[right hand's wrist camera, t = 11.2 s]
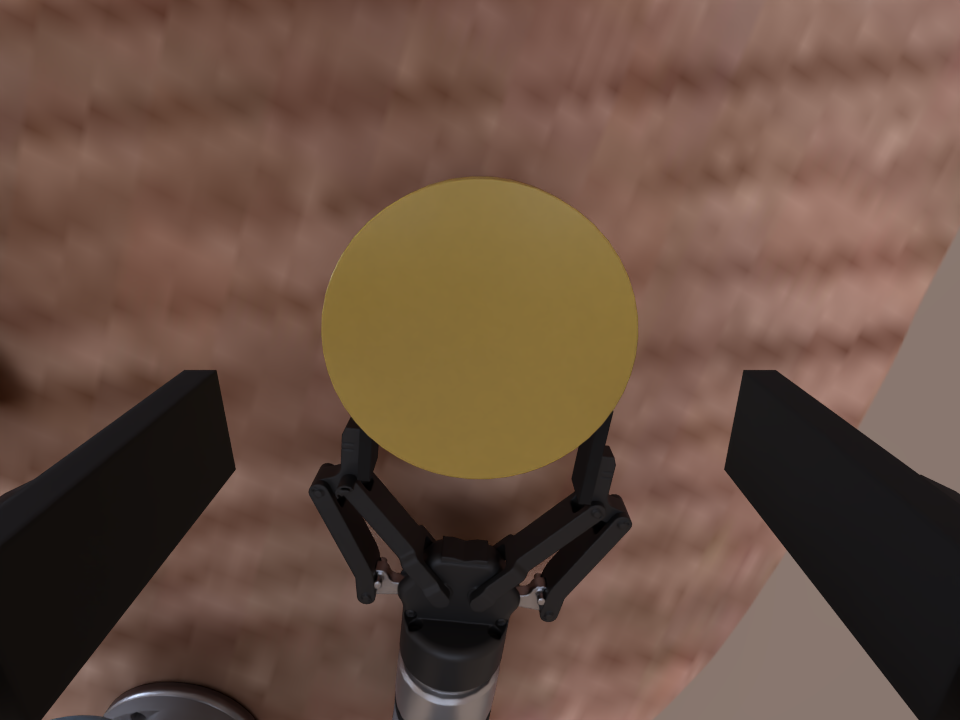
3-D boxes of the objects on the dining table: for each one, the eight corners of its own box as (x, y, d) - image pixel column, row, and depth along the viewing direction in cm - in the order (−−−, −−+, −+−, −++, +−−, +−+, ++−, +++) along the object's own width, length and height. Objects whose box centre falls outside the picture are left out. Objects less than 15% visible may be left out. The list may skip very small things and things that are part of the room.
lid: (579, 473, 22) (588, 501, 20) (321, 427, 21) (307, 451, 19) (663, 213, 18) (683, 219, 16) (353, 144, 17) (339, 143, 16)
